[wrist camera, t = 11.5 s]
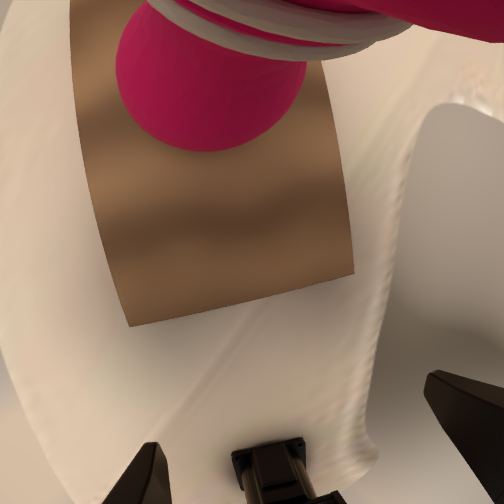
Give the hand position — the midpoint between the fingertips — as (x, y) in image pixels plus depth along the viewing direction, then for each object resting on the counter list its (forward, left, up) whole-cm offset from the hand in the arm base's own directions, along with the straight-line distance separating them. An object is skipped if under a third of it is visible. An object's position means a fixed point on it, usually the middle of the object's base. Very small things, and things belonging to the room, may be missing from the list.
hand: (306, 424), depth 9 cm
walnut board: (+11, +1, -13) cm, 17 cm away
